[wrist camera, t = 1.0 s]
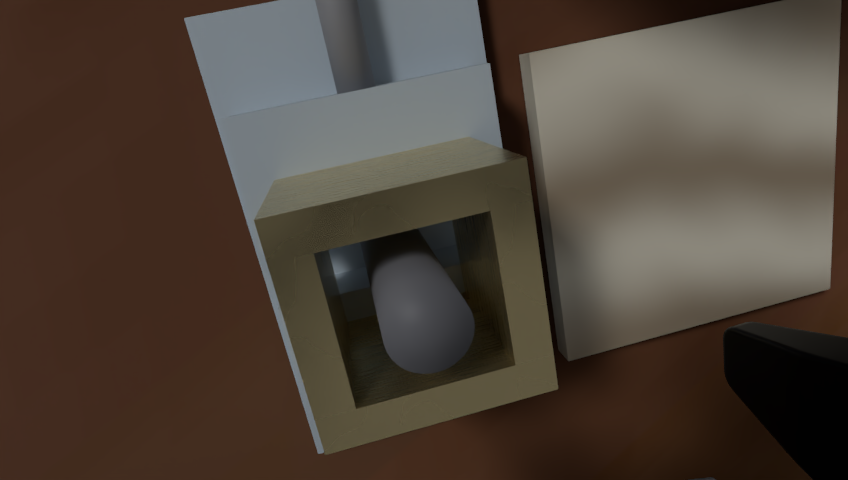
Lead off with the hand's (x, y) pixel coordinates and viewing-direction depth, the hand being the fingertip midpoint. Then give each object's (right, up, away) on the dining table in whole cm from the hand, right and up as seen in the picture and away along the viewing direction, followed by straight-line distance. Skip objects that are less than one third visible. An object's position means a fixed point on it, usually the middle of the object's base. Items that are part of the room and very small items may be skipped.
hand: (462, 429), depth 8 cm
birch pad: (+10, +5, +13) cm, 17 cm away
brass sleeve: (-2, +3, +9) cm, 9 cm away
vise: (-2, +5, +11) cm, 13 cm away
